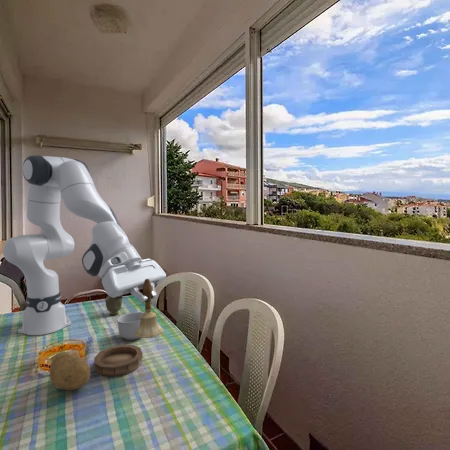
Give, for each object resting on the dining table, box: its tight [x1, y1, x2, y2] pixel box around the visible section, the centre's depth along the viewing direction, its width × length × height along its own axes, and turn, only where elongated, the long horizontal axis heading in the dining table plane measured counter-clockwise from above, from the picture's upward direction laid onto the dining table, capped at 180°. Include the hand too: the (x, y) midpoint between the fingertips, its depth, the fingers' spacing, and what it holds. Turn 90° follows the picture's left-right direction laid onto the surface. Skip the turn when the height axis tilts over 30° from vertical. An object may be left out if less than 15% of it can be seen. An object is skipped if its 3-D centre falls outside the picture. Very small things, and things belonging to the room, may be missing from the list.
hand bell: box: [135, 279, 165, 339], centre depth 88 cm, size 8×8×16 cm
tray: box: [93, 344, 144, 378], centre depth 94 cm, size 14×14×3 cm
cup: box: [104, 295, 123, 316], centre depth 138 cm, size 8×7×8 cm
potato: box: [49, 352, 91, 391], centre depth 83 cm, size 10×14×8 cm
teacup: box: [116, 310, 145, 341], centre depth 116 cm, size 14×11×8 cm
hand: (149, 299), depth 88 cm, fingers closed on hand bell, 2 cm apart
